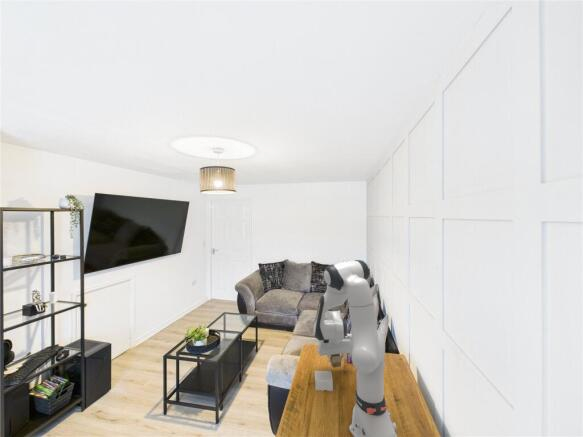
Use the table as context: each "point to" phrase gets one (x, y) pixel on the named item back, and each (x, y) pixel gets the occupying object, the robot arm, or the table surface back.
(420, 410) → the table surface
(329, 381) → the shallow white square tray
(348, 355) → the candy bar box
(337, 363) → the oak block
